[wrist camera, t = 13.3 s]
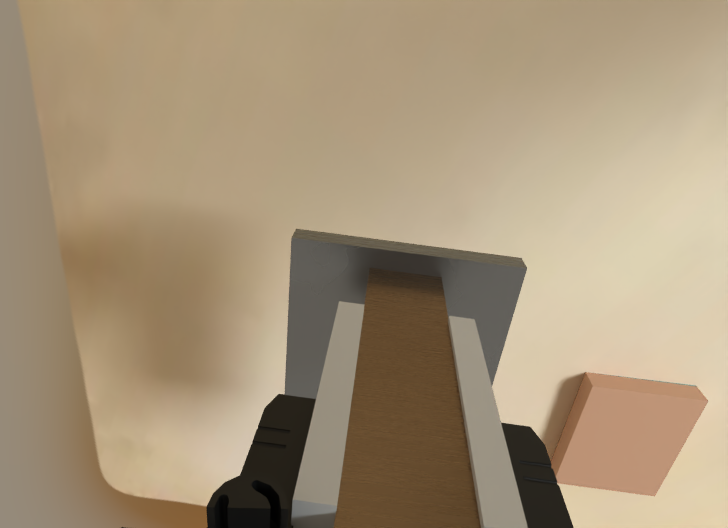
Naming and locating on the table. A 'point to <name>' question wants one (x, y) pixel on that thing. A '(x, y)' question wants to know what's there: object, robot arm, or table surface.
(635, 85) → the table surface
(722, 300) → the table surface
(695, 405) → the tile
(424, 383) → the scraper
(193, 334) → the table surface
